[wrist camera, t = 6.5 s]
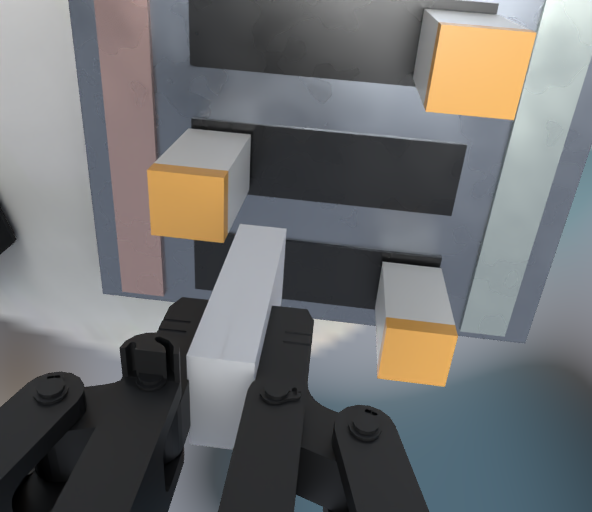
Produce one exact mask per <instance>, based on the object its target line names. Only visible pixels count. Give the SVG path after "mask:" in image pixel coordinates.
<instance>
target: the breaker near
mask: <svg viewBox="0 0 592 512" xmlns="http://www.w3.org/2000/svg"><path fill="white" fill-rule="evenodd" d="M536 34H537V33H536V32H534V31H532V30H530V29H528V28H525V27H523V26H521V25H519V24H517V23H515V22H513V21H510V20H508V19H506V18H504V17H502V16H500V15H495V14H483V13H471V12H459V11H447V10H435V9H424V14H423V20H422V26H421V32H420V38H419V44H418V50H417V56H416V62H415V68H414V74H413V80H414V83H415V85H416V88H417V91H418V93H419V96H420V98H421V101H422V103H423V106H424V109H425V111H426V112H434V113H445V114H455V115H466V116H476V117H487V118H497V119H508V120H514V118H515V114H516V111H517V107H518V103H519V99H520V95H521V91H522V87H523V84H524V80H525V76H526V72H527V68H528V64H529V60H530V57H531V53H532V49H533V45H534V41H535V37H536Z"/></svg>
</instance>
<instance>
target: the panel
mask: <svg viewBox="0 0 592 512" xmlns="http://www.w3.org/2000/svg"><path fill="white" fill-rule="evenodd" d="M68 1H69V9H70V18H71V26H72V35H73V43H74V52H75V60H76V68H77V77H78V85H79V94H80V102H81V111H82V119H83V128H84V136H85V145H86V153H87V162H88V170H89V178H90V187H91V195H92V204H93V212H94V221H95V229H96V238H97V246H98V255H99V263H100V272H101V280H102V288H103V294H111V295H119V296H127V297H136V298H144V299H153V300H161V301H170V302H176V301H178V300H179V299H180V298H182V297H187V298H197V299H206V300H209V299H210V296H211V294H212V291H213V289H214V286H215V284H216V282H217V279H218V277H219V274H220V272H221V269H222V267H223V264H224V262H225V259H226V257H227V254H228V252H229V250H230V247H231V245H232V242H233V240H234V237H235V235H236V232H237V230H238V227H239V225H240V224H246V225H256V226H265V227H275V228H285V229H286V244H285V259H284V274H283V288H282V301H281V306H282V307H291V308H300V309H308V311H309V313H310V315H311V317H312V318H314V319H322V320H330V321H339V322H347V323H356V324H364V325H373V326H376V316H375V305H376V299H377V293H378V287H379V281H380V275H381V268H382V262H390V263H399V264H408V265H417V266H426V267H435V268H441V269H442V273H443V277H444V281H445V285H446V290H447V294H448V298H449V302H450V306H451V310H452V314H453V318H454V322H455V326H456V330H457V334H458V336H466V337H475V338H483V339H492V340H500V341H509V342H517V343H525V342H526V339H527V336H528V333H529V330H530V327H531V324H532V321H533V318H534V315H535V311H536V309H537V306H538V303H539V300H540V297H541V294H542V291H543V288H544V285H545V282H546V279H547V276H548V273H549V270H550V267H551V264H552V261H553V258H554V255H555V253H556V249H557V247H558V244H559V240H560V237H561V234H562V232H563V229H564V226H565V223H566V220H567V216H568V214H569V210H570V208H571V205H572V202H573V199H574V195H575V193H576V190H577V187H578V184H579V181H580V178H581V175H582V172H583V169H584V166H585V163H586V160H587V157H588V154H589V151H590V148H591V145H592V0H68ZM424 9H435V10H447V11H459V12H471V13H483V14H495V15H500V16H502V17H504V18H506V19H508V20H510V21H513V22H515V23H517V24H519V25H521V26H523V27H525V28H528V29H530V30H532V31H534V32H536V33H537V34H536V37H535V41H534V45H533V49H532V53H531V57H530V60H529V64H528V68H527V72H526V76H525V80H524V84H523V87H522V91H521V95H520V99H519V103H518V107H517V111H516V114H515V118H514V120H508V119H497V118H487V117H476V116H466V115H455V114H445V113H434V112H426V111H425V109H424V106H423V103H422V101H421V98H420V96H419V93H418V91H417V88H416V85H415V83H414V80H413V74H414V68H415V62H416V56H417V50H418V44H419V38H420V32H421V26H422V20H423V14H424ZM188 128H190V129H201V130H211V131H221V132H231V133H241V134H251V148H250V182H249V191H248V193H247V195H246V198H245V200H244V202H243V204H242V206H241V208H240V210H239V212H238V214H237V216H236V218H235V220H234V222H233V225H232V227H231V229H230V231H229V233H228V235H227V237H226V239H225V241H224V243H219V242H210V241H201V240H192V239H183V238H174V237H165V236H156V235H151V224H150V209H149V193H148V178H147V169H148V168H149V167H150V166H151V165H152V164H153V163H154V162H155V161H156V160H157V159H158V158H159V157H160V156H161V155H162V154H163V153H164V152H165V151H166V150H167V149H168V148H169V147H170V146H171V145H172V144H173V143H174V142H175V141H176V140H177V139H178V138H179V137H180V136H181V135H182V134H183V133H184V132H185V131H186V130H187V129H188Z"/></svg>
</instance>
